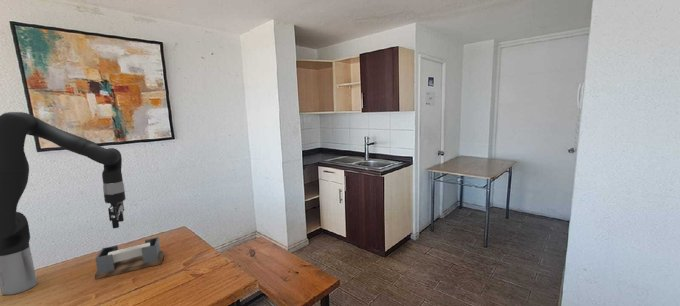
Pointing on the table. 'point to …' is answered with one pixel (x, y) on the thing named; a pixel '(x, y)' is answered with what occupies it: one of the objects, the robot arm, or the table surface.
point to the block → (128, 252)
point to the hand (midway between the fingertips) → (118, 224)
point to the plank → (130, 265)
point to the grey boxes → (107, 263)
